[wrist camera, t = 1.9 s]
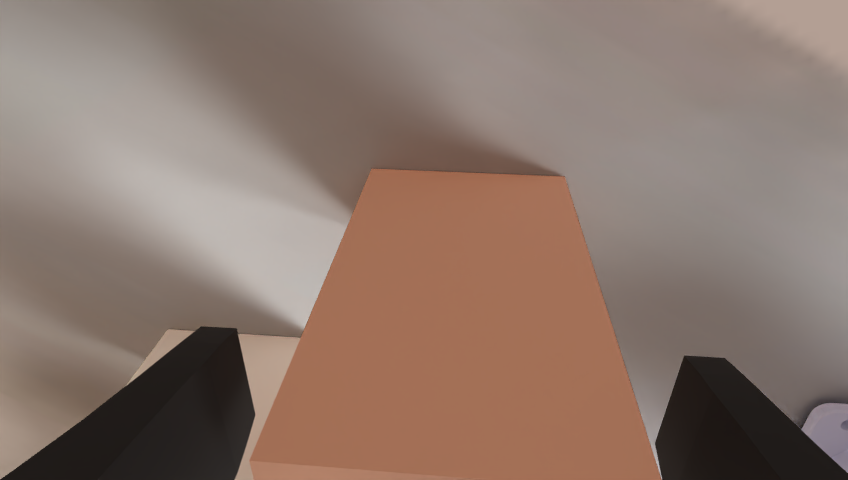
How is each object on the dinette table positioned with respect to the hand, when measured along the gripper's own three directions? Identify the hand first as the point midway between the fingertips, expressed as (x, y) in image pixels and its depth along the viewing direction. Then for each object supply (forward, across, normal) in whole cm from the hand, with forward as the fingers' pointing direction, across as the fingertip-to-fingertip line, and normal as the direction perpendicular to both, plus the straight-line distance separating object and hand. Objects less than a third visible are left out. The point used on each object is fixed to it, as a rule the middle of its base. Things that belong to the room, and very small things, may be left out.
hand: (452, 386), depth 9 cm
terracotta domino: (+7, 0, 0) cm, 7 cm away
